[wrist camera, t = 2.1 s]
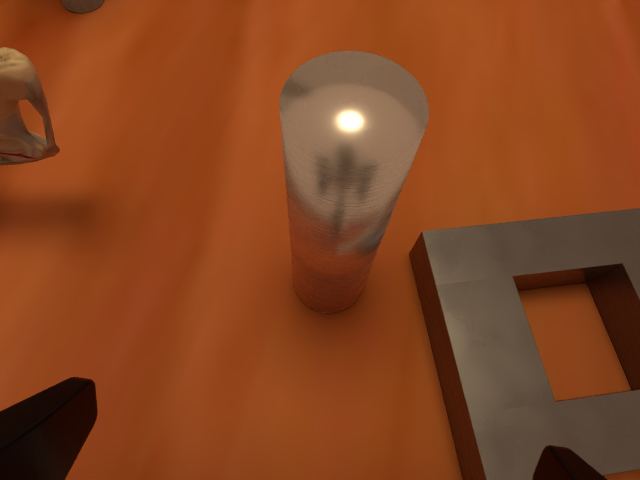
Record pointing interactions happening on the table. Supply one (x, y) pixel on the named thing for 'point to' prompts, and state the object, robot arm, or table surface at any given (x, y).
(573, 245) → the grey square frame
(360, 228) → the pin
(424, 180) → the table surface
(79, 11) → the hip flask
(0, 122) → the wood carving
